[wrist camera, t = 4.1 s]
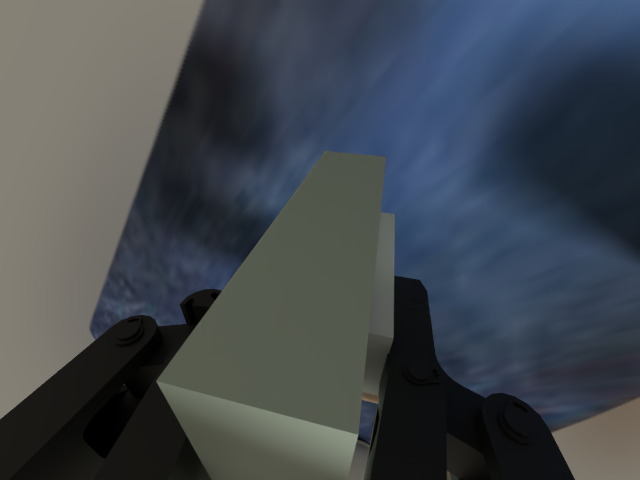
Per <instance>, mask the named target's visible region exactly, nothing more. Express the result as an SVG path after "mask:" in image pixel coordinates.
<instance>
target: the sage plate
mask: <svg viewBox="0 0 640 480" xmlns="http://www.w3.org/2000/svg"><path fill="white" fill-rule="evenodd" d="M385 163H386V157H383V156H372V155H362V154H351V153H340V152H330V151H325V152H324V153H323V154H322V156H321V157H320V158H319V160H318V161H317V162H316V164H315V165H314V167H313V168H312V169H311V171H310V172H309V173H308V175H307V176H306V177H305V179H304V180H303V182H302V183H301V184H300V186H299V187H298V188H297V190H296V191H295V192H294V194H293V195H292V197H291V198H290V199H289V201H288V202H287V203H286V205H285V206H284V207H283V209H282V210H281V212H280V213H279V214H278V216H277V217H276V218H275V220H274V221H273V222H272V224H271V225H270V227H269V228H268V229H267V231H266V232H265V233H264V235H263V236H262V237H261V239H260V240H259V242H258V243H257V244H256V246H255V247H254V248H253V250H252V251H251V252H250V254H249V255H248V257H247V258H246V259H245V261H244V262H243V263H242V265H241V266H240V267H239V269H238V270H237V272H236V273H235V274H234V276H233V277H232V278H231V280H230V281H229V282H228V284H227V285H226V287H225V288H224V289H223V291H222V292H221V293H220V295H219V296H218V297H217V299H216V300H215V301H214V303H213V304H212V306H211V307H210V308H209V310H208V311H207V312H206V314H205V315H204V316H203V318H202V319H201V321H200V322H199V323H198V325H197V326H196V327H195V329H194V330H193V331H192V333H191V334H190V336H189V337H188V338H187V340H186V341H185V342H184V344H183V345H182V346H181V348H180V349H179V351H178V352H177V353H176V355H175V356H174V357H173V359H172V360H171V361H170V363H169V364H168V366H167V367H166V368H165V370H164V371H163V372H162V374H161V375H160V376H159V378H158V379H157V381H156V382H157V384H158V385H159V387H160V389H161V391H162V392H163V394H164V396H165V398H166V400H167V401H168V403H169V405H170V407H171V409H172V410H173V412H174V414H175V416H176V417H177V419H178V421H179V423H180V425H181V426H182V428H183V430H184V432H185V433H186V435H187V437H188V439H189V441H190V442H191V444H192V446H193V448H194V450H195V451H196V453H197V455H198V457H199V458H200V460H201V462H202V464H203V466H204V467H205V469H206V471H207V473H208V475H209V476H210V478H211V480H348V475H349V471H350V467H351V463H352V459H353V455H354V450H355V446H356V442H357V438H358V432H359V422H360V412H361V402H362V393H363V383H364V373H365V363H366V353H367V343H368V333H369V323H370V313H371V303H372V293H373V283H374V273H375V263H376V253H377V243H378V233H379V223H380V213H381V203H382V193H383V183H384V173H385Z"/></svg>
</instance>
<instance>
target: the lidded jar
mask: <svg viewBox="0 0 640 480" xmlns="http://www.w3.org/2000/svg"><path fill="white" fill-rule="evenodd" d="M369 447H370V445H369V444H367V443H365V442H363V441H361V440H357V442H356V446H355V450H354V455H353V459H352V463H351V467H350V471H349V475H348V480H363V479H364V473H365V468H366V463H367V457H368V452H369Z"/></svg>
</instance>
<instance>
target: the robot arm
mask: <svg viewBox="0 0 640 480" xmlns="http://www.w3.org/2000/svg"><path fill="white" fill-rule="evenodd" d="M394 238H395V214H389V213H382V212H381V213H380V223H379V233H378V243H377V253H376V263H375V273H374V283H373V293H372V303H371V313H370V323H369V333H368V343H367V353H366V363H365V373H364V383H363V392H365V393H369V394H373V395H377V396H378V392H379V402H378V407H377V411H376V414H375V418H374V421H373V425H372V426H373V431H372V436H371V441H370V447H369V452H368V457H367V463H366V468H365V473H364V479H363V480H447V471H449V472H450V476H451V480H575V479H574V477H573V475H572V473H571V471H570V469H569V467H568V465H567V463H566V461H565V459H564V457H563V455H562V453H561V451H560V450H559V447H558V445H557V444H556V442H555V440H554V438H553V436H552V434H551V432H550V430H549V428H548V427H547V425H546V424H545V422H544V421H543V419H542V418H541V416H540V415H539V414H538V413H537V412H536V411H535V410H534V409H532V408H531V407H530V406H529V405H528V404H527V403H525V402H523V401H522V400H520V399H518V398H516V397H515V396H511V395H508V394H504V393H496V394H491V395H490V396H488V397H487V398H484V397H483V396H481V395H479V394H477V393H475V392H473V391H471V390H469V389H467V388H465V387H463V386H462V385H460V384H458V383H457V382H455V381H454V380H453V379H451V378H450V377H449V376H448V375H447V374H446V373H445V372H444V370H443V369H442V368H441V367H440V365H439V363H438V361H437V358H436V354H435V348H434V341H433V333H432V325H431V318H430V310H429V305H428V303H429V302H428V295H427V290H426V289H425V287H424V286H423V284H422V283H421V281H420V280H417V279H411V278H405V277H399V276H394ZM221 292H222V291H220V290H216V289H205V290H201V291H198V292H195V293H193V294H191V295H190V296H188V297H186V298H185V299H184V300H183V301H182V302H181V304H180V306H181V309H182V312H183V314H184V317H185V320H186V323H187V324H182V325H170V326H158V325H157V323H156V321H155V319H153V318H152V317H150V316H145V315H138V316H132V317H129V318H126V319H124V320H121V321H120V322H118V323H117V324H115V325H114V326H112V327H111V328H110V329H108V330H107V331H106V332H105V333H104V334H102V335H101V336H100V337H99V338H98V339H96V340H95V341H94V342H93V343H92V344H90V345H89V346H88V347H87V348H86V349H85V350H83V351H82V352H81V353H80V354H78V355H77V356H76V357H75V358H74V359H73V360H71V361H70V362H69V363H68V364H66V365H65V366H64V367H63V368H62V369H60V370H59V371H58V372H57V373H56V374H54V375H53V376H52V377H51V378H50V379H48V380H47V381H46V382H45V383H44V384H42V385H41V386H40V387H39V388H38V389H36V390H35V391H34V392H33V393H32V394H30V395H29V396H28V397H27V398H26V399H24V400H23V401H22V402H21V403H20V404H18V405H17V406H16V407H15V408H14V409H12V410H11V411H10V412H9V413H8V414H6V415H5V416H4V417H3V418H2V419H0V480H211V478H210V476H209V475H208V473H207V471H206V469H205V467H204V466H203V464H202V462H201V460H200V458H199V457H198V455H197V453H196V451H195V450H194V448H193V446H192V444H191V442H190V441H189V439H188V437H187V435H186V433H185V432H184V430H183V428H182V426H181V425H180V423H179V421H178V419H177V417H176V416H175V414H174V412H173V410H172V409H171V407H170V405H169V403H168V401H167V400H166V398H165V396H164V394H163V392H162V391H161V389H160V387H159V385H158V384H157V382H156V381H157V379H158V378H159V376H160V375H161V374H162V372H163V371H164V370H165V368H166V367H167V366H168V364H169V363H170V361H171V360H172V359H173V357H174V356H175V355H176V353H177V352H178V351H179V349H180V348H181V346H182V345H183V344H184V342H185V341H186V340H187V338H188V337H189V336H190V334H191V333H192V331H193V330H194V329H195V327H196V326H197V325H198V323H199V322H200V321H201V319H202V318H203V316H204V315H205V314H206V312H207V311H208V310H209V308H210V307H211V306H212V304H213V303H214V301H215V300H216V299H217V297H218V296H219V295H220V293H221ZM124 384H125V385H124ZM123 385H124V386H123Z"/></svg>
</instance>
